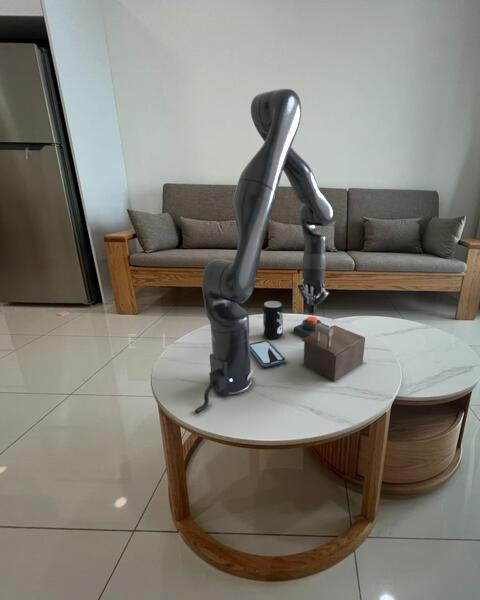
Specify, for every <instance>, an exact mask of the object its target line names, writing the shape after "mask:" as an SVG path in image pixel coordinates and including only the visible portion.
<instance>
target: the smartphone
mask: <svg viewBox="0 0 480 600" xmlns="http://www.w3.org/2000/svg"><path fill="white" fill-rule="evenodd" d="M250 353H251V354H252V355H253V356H254V357H255V359H256V360H257V361H258V363H259V364H260V365H261V366H262V367H263V368H269V367H274V366H277V365H280V364H284V363H286V361H287V360H286V357H285V356H284V355H283V354H282V353H281V352H280V351H279V350H278V349H277V348H276V347H275V346H274V345H273V344H272V343H271V342H270V341H269V340H268V339H267V340H260V341H256V342H250Z"/></svg>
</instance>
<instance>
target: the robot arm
mask: <svg viewBox="0 0 480 600" xmlns="http://www.w3.org/2000/svg"><path fill="white" fill-rule="evenodd" d="M250 115H251V119H252V122H253V125H254V127H255V129H256V131H257V133H258V134H259V135H260V137H261V138H262V140H263V141H264V142H263V144H262V145H261V147H260V148H259V150H258V151H256V153H255V155H254V156H253V157H252V158H251V159H250V161H249V162H248V163H247V164H246V166H245V167H244V168H243V170H242V172H241V174H240V176H239V177H238V181H237V185H236V188H235V191H234V196H233V199H232V209H233V215H234V220H235V223H236V227H237V231H238V244H237V249H236V254H235V256H234V260H229V259H222V258H215V259H212V260H210V261H208V263H207V264H206V265H205V266H204V269H203V271H202V277H201V289H202V296H203V302H204V309H205V315H206V317H207V319H208V321H209V326H210V335H211V336H210V338H211V348H212V350H211V351H212V353H209V366H210V372H209V373H208V375H209V385H208V387H206V389H205V391H204V394H203V400H204V401H203V404H202V405H200V406H199V407H197V408H195V410H194V412H195V413H196V414H199V413H201V412H203V411H204V410H205V409H206V408H207V407H208V405H209V401H210V399H209V396H210V392H211V391H212V389H213V388H214V390H216V391H217V392H218V393H220V394H221V395H222V396H223V397H228V396H234V395H239V394H243V392H246V391H247V390H249V389H250V387H251V386H252V375H253V373H254V370H253V369H254V368H253V369H252V367H251V351H250V343H251V342H250V340H251V339H250V316H249V313H248V312H247V310H246V309H244V308H243V307H242V306H241V305H240V304H243V303H246V302H247V301H248V299H250V298H251V295H252V294H253V291H254V288H255V285H256V282H257V277H258V271H259V265H260V259H261V254H262V248H263V244H264V240H265V236H266V231H267V228H268V224H269V220H270V217H271V214H272V212H273V211H272V210H273V207H274V204H275V199H276V196H277V193H278V189H279V185H280V181H281V177H282V174H283V173H285V176H286V177H287V180H288V182H289V184H290V186H291V188H292V190H293V193H294V195H295V197H296V199H297V201H298V202H299V203H300V204H303V205H302V206H301V207H300V210H299V220H300V226H301V230H302V234H303V240H304V244H303V256H302V276H301V277H302V279H303V280H302V283H301V284H298V285H297V289H298V291H299V293H300V295H301V297H302V299H303V301H306V303H307V313H308V314H309V315H311V316H312V315H315V314H316V313H317V309H318V305H319V304H322V303H323V302H324V301H325V300H326V298H327V297H328V296H329V295H330V292H329V291H328V290H326V289H325V284H324V281H325V278H326V265H327V257H326V248H327V237H326V235H325V234H323V233H321V232H319V231H318V229H317V227H327V226H329V225H330V224H332V223H333V219H334V210H333V207H332V205H331V203H330V201H329V200H328V199H327V197H326V196H325V194H324V193H323V192H322V191H321V190H320V188H319V185H318V183H317V180H316V178H315V174H314V173H313V170H312V169H311V167H310V166H309V164H308V163H307V162H306V161H305V160H304V159H303V158H302V156H301V155H300V154H298V153H297V152H296V151H295V149H294V148H293V147H292V146H293V143H294V140H295V138H296V135H297V132H298V129H299V127H300V124H301V118H302V104H301V99H300V97H299V95H298V93H297V92H296V91H295V90H293V89H291V88H279V89H278V88H277V89H274V90H269V91H265V92H262V93H258V94H256V95H255V96H254V97H253V98H252V101H251V103H250Z"/></svg>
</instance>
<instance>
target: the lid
mask: <svg viewBox="0 0 480 600" xmlns="http://www.w3.org/2000/svg"><path fill="white" fill-rule="evenodd" d="M315 330H316V331H317V333H314V334H312V335H310V336H307V337H305V338H304V337H302V339H301V341H302V343H304V342H305V343H307V344H310V345H312V346H314V347H316V348H318V349H320V350H322V351H324V352H326V353H328V354H330V355H333V356H335V355H337V354H339V353H341V352H343V351H345V350H347V349H349V348H351V347H352V346H354V345H356V344H358V343H360V342H362V341H364V340H365V341H366V337H365V336H363V335H360V334H358V333H355V332H352V331H350V330H347V329H345V328H343V327H340V326H338V325H335V324H334V325H331V326H329V328H328V327H325V326H323V325H320V324H316V326H315Z"/></svg>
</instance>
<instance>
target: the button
mask: <svg viewBox="0 0 480 600" xmlns="http://www.w3.org/2000/svg"><path fill="white" fill-rule="evenodd" d="M306 319H307V324H311V325H313V324H317V319H318V318H317V317H316V316H307V317H306Z"/></svg>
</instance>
